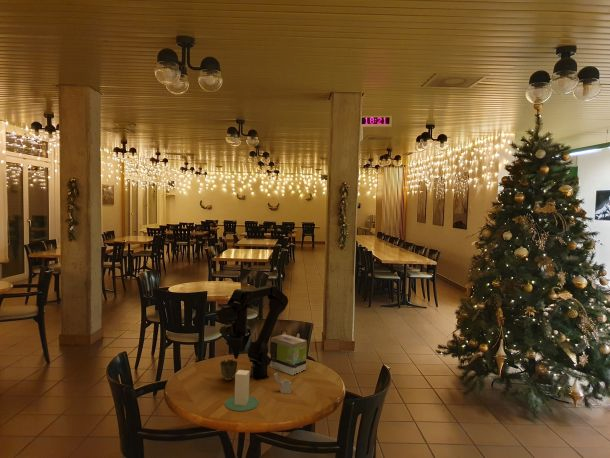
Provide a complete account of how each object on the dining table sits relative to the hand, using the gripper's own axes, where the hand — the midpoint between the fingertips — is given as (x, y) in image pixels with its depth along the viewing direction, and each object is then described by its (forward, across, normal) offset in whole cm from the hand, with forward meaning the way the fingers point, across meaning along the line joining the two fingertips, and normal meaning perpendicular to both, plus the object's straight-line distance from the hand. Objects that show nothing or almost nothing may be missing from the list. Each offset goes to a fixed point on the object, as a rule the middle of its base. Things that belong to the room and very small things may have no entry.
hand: (239, 355), depth 185 cm
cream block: (+13, +16, +6) cm, 22 cm away
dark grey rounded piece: (+13, -4, -6) cm, 15 cm away
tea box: (+13, -24, +17) cm, 32 cm away
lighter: (+13, +2, +20) cm, 24 cm away
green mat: (+13, +16, +6) cm, 22 cm away
